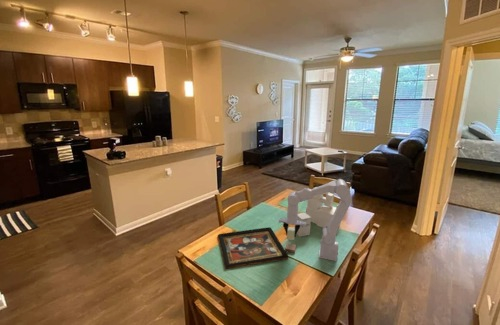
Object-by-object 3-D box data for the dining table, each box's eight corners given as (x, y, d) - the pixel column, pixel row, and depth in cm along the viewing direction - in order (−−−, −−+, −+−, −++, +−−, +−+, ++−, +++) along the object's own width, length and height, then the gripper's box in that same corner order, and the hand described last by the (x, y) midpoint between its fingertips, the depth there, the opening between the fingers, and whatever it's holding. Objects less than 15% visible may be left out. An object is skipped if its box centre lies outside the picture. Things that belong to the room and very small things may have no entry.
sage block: (295, 236, 141) (295, 227, 139) (294, 240, 137) (294, 231, 136) (288, 235, 142) (288, 226, 140) (286, 238, 138) (287, 230, 137)
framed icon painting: (267, 226, 167) (267, 223, 166) (294, 258, 135) (294, 254, 134) (212, 238, 154) (212, 234, 153) (227, 276, 122) (227, 271, 121)
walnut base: (295, 248, 143) (296, 244, 143) (294, 254, 138) (294, 250, 138) (286, 246, 145) (286, 243, 144) (284, 252, 140) (285, 248, 139)
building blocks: (339, 224, 169) (343, 190, 163) (332, 231, 161) (336, 196, 154) (311, 214, 183) (314, 183, 176) (303, 220, 174) (306, 187, 168)
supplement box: (300, 237, 154) (301, 219, 150) (293, 231, 161) (294, 213, 157) (310, 234, 157) (311, 217, 153) (303, 229, 163) (304, 212, 160)
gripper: (306, 212, 137) (304, 234, 140) (281, 208, 141) (280, 229, 145) (305, 218, 130) (303, 240, 134) (278, 214, 135) (277, 235, 139)
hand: (291, 235), depth 139 cm, fingers closed on sage block, 4 cm apart
